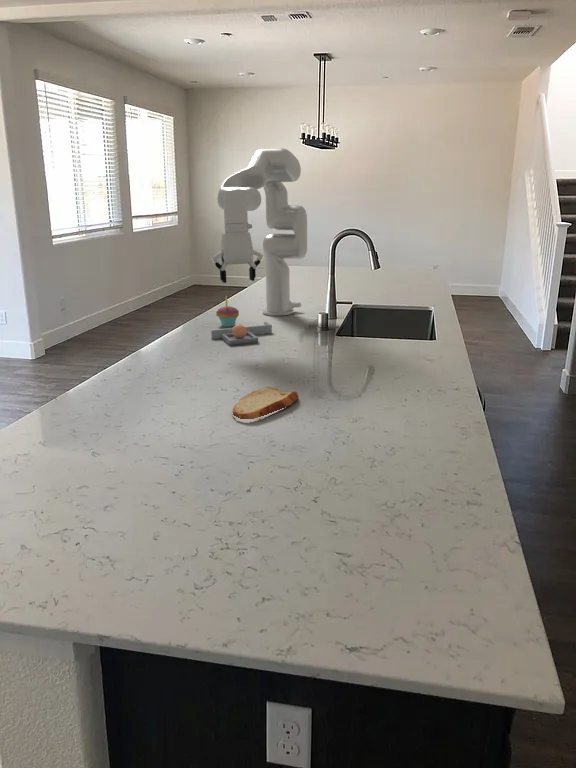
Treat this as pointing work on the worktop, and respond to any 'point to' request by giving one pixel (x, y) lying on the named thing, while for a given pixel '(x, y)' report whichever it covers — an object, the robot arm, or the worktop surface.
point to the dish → (233, 341)
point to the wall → (253, 329)
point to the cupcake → (227, 315)
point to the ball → (239, 331)
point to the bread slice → (263, 402)
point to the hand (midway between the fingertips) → (238, 281)
